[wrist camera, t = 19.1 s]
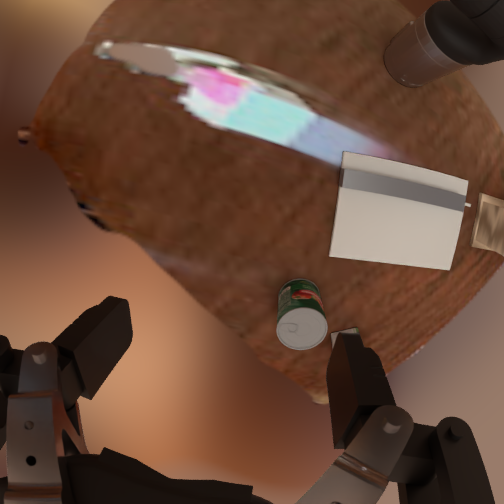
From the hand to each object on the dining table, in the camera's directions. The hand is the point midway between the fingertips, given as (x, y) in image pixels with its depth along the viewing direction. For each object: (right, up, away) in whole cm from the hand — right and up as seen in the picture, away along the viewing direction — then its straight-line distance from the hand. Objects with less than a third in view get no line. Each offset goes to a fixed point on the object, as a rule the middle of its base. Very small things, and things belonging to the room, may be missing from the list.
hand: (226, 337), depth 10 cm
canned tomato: (+10, -5, +43) cm, 44 cm away
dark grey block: (+27, +12, +32) cm, 44 cm away
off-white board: (+28, +10, +36) cm, 46 cm away
